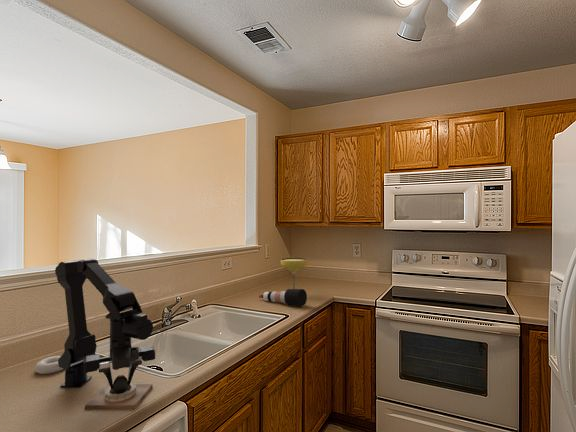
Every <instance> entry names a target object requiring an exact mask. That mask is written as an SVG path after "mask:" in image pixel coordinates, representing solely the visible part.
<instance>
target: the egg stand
mask: <svg viewBox="0 0 576 432" xmlns="http://www.w3.org/2000/svg"><path fill="white" fill-rule="evenodd" d="M152 389H153V384H152V383H133V382H132V381H131V383H130V385H129V386H128V388H127V390H126V391H125V392H124V393H121V394H115V393H114V391H113V389H111V387H110V385H109V383H108V384H106V385H105V386H104V387H103V388H102V389H101V390H100V391H99V392H98V393H96V394H95V395H94V396H93V397H92V398H91V399H90V400H89V401H88V402H87V403H85V404H84V410H135V409H136V408H137V407H138V405H140V403H141V402H142V401H143V399H145V397H146V396H147V395H148V393H149V392H150V391H151V390H152Z"/></svg>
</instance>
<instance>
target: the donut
mask: <svg viewBox="0 0 576 432" xmlns="http://www.w3.org/2000/svg"><path fill="white" fill-rule="evenodd" d="M61 356H62V355H55V356H54V355H53V356H49V357H46V358H43V359H41V360H40V361H38V362H37V364H35V366H34V370H35V372H36V373H37V374H41V375H48V374H54V373H58V372H61V371H63V370H64V369H63V368H60V367H59V365H58V360H59V358H60V357H61Z"/></svg>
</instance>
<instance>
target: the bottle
mask: <svg viewBox="0 0 576 432" xmlns="http://www.w3.org/2000/svg"><path fill="white" fill-rule="evenodd" d="M258 298H259V299H263V300H264V301H265V302H273V303H278V304H279V303H283V304H286V306H292V307H295V306H296V307H303V306H305V305H306V304H307V301H308V300H307V299H308V295H307V291H306V290H305V289H303V288H294V289H293V288H288V289H286V291H285V290H281V291H280V290H277V291H265V292H264V293H263V294H259V295H258Z"/></svg>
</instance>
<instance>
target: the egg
mask: <svg viewBox="0 0 576 432" xmlns="http://www.w3.org/2000/svg"><path fill="white" fill-rule="evenodd" d="M127 388H128V377H126V375H124V374H119V375H117V377H116V378H115V379H114V381H113V391H114V393H115V394H121V393H124V392H125V391H126V390H127Z"/></svg>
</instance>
